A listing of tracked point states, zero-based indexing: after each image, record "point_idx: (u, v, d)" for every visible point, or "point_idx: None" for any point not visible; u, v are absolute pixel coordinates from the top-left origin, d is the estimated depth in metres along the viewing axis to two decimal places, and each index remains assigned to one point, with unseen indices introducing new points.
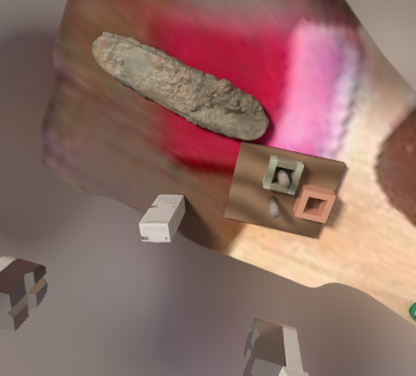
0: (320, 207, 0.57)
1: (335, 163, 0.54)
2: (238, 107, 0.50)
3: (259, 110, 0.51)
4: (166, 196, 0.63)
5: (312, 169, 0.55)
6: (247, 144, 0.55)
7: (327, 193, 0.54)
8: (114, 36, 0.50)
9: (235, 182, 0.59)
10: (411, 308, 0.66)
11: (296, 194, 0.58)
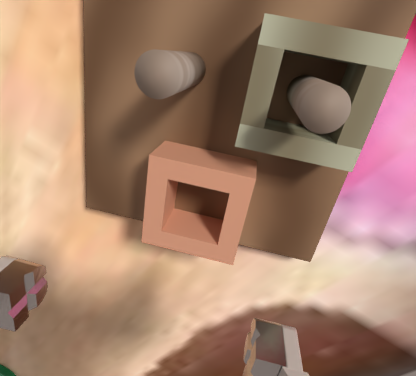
0: (183, 216, 0.20)
1: (315, 240, 0.20)
2: None
3: None
4: None
5: (302, 186, 0.18)
6: None
7: None
8: None
9: None
10: None
11: (217, 147, 0.18)
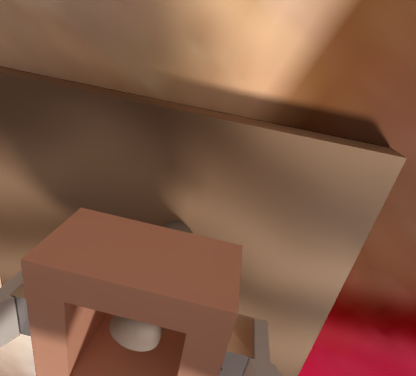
0: None
1: None
2: None
3: None
4: None
5: None
6: None
7: None
8: None
9: (319, 302, 0.16)
10: None
11: None
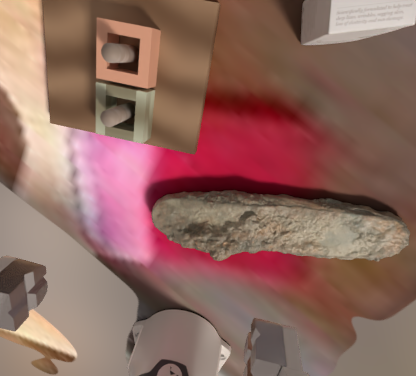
0: (122, 69, 0.34)
1: (62, 123, 0.39)
2: (192, 239, 0.40)
3: (170, 237, 0.42)
4: (337, 42, 0.31)
5: (89, 114, 0.37)
6: (185, 151, 0.38)
7: (150, 74, 0.32)
8: (374, 259, 0.39)
9: (199, 86, 0.34)
10: None
11: None
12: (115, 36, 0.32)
